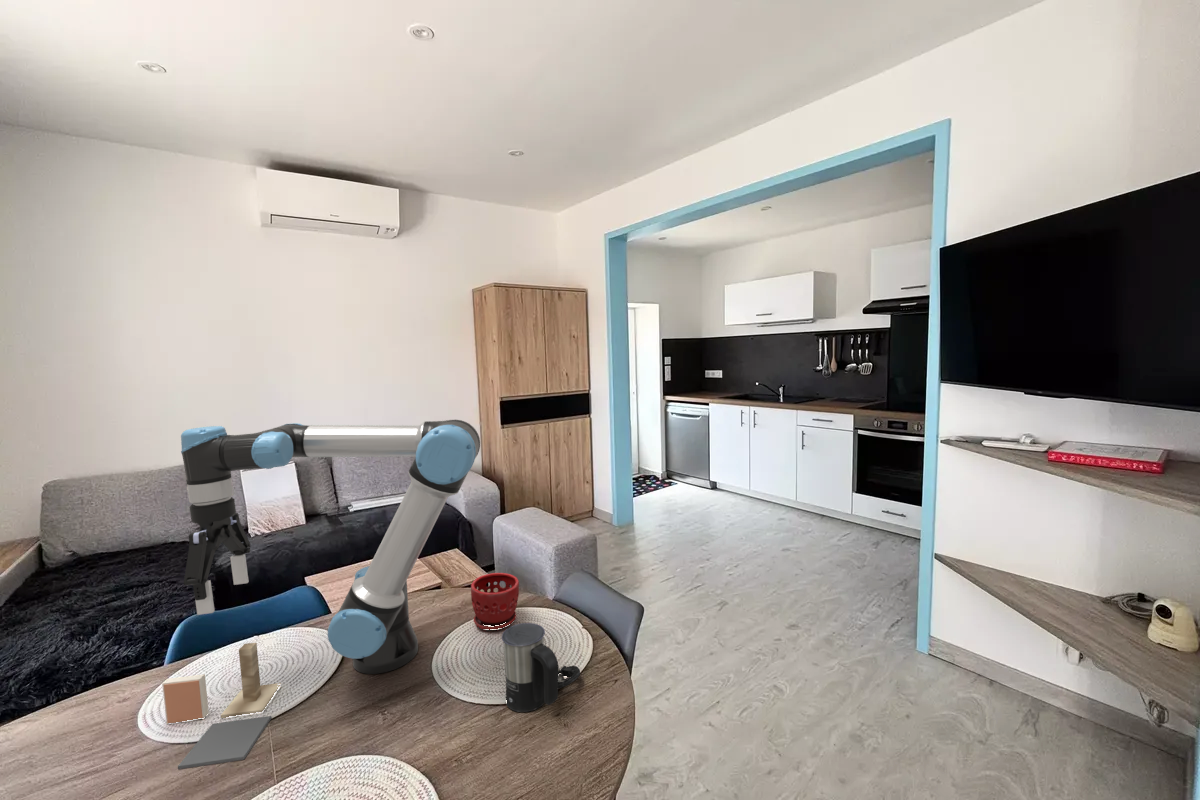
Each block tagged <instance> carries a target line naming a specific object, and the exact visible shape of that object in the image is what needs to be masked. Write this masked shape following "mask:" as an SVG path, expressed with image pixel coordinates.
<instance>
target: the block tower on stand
mask: <svg viewBox="0 0 1200 800" xmlns="http://www.w3.org/2000/svg"><path fill="white" fill-rule="evenodd" d="M258 654H259V653H258V643H257V642H251V643H250V642H249V643H247V642H246V643H244V644H243V645H241V647H240V648H239V649H238V656H239V667H240V668H239V669H240V678H241V688H242V689H240V691H239V692H238V693H237V694H236V696H235V697H234V698H233V700H232V701H231V702H230V703H229V704H228V706H227V707H226V708H225V709H224V710H223V712H222V713H221V714H220V719H221V718H226V717H229V716H236V715H242V714H250V713H256V712H262V711H263V710H264V709H265V707H266V706H267V704H268V703H269V701H270V700H271V698H272V697H273V695H274V693H275V692H276V691H277V689H278V687H279V686H280V685H277V684H278V683H279V684H281V683H282V682H278V683H271V684H270V683H269V684H261V678H260V675H261V674H260V665H259V655H258ZM277 686H278V687H277Z"/></svg>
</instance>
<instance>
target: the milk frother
mask: <svg viewBox="0 0 1200 800" xmlns="http://www.w3.org/2000/svg"><path fill="white" fill-rule="evenodd" d="M545 633H546V632H545V628H544V627H543V626H541V625H540V624H537V623H533V622H523V623H517V624H514V625H510V626H508V627H507V628H505V629H504V631H503V632H502V633H501V640H502V642H503V659H504V673H505V692H506V693H505V698H506V700H507V704H506V703H505V705H506V706H507V708H508V709H510V711H514V712H518V713H526V712H527V713H528V712H532V711H535V710H537V709H539V708H540V707H542V706H544V704H545V705H547V706H551V705H552V704H554V703H555V702H556V701H557V700H558V698H559V689H562V688H564V687H566V686H568V685H570V684H572V683H573V682H575V681H576V680H577V679H578V678H579V677H580V675H581V668H579V666H576V665H568V666H567V665H563V666H562V667H561V668H559V662H558V659H557V656H556V654H555V652H554V651H553V650H552V649H551V648H550V647H549V646H547V645H546V644H545V642H544V641H545V640H544V639H545V638H544V636H545ZM559 673H561V674H560V675H561V677H562V676H567V677H569V678H566V679H565V680H563V681H559V676H558V674H559Z"/></svg>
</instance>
